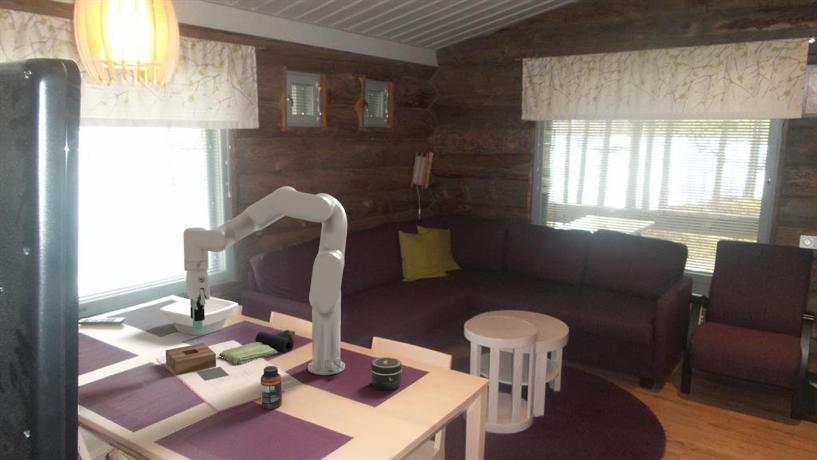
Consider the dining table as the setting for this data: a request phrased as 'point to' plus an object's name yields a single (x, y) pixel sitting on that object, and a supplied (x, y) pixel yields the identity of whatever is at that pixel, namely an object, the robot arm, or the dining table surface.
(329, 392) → the dining table surface
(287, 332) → the pipe connector
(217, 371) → the mat
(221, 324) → the bowl
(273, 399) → the supplement bottle
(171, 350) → the hole block
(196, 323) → the peg
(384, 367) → the jar
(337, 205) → the robot arm
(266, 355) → the washcloth
